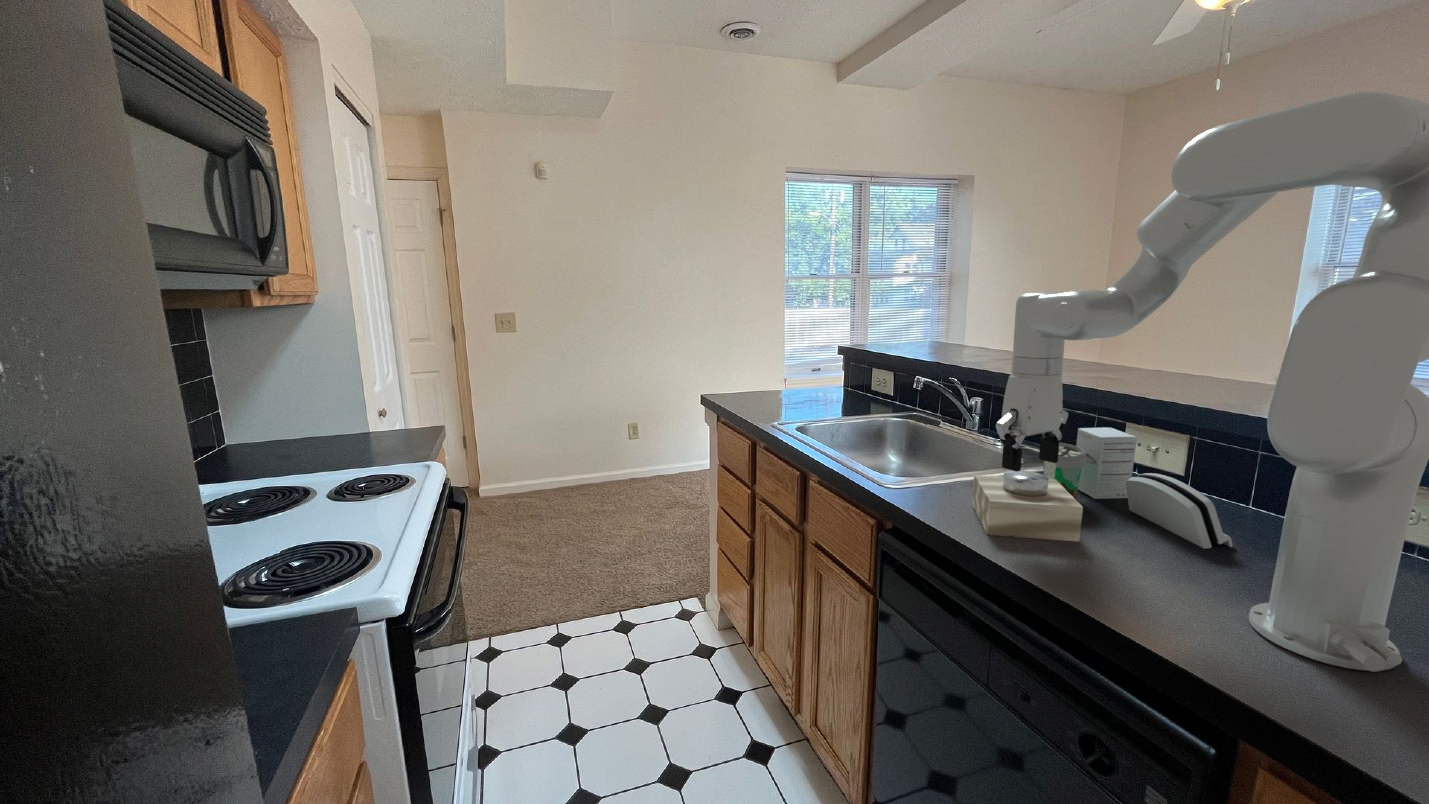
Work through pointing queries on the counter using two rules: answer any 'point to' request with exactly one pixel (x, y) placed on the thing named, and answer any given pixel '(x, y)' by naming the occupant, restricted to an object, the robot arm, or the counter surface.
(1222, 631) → the counter surface
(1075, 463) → the food container
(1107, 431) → the supplement box
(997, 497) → the block
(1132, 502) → the white curved block
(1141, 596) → the counter surface
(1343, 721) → the counter surface
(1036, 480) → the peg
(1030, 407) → the robot arm
